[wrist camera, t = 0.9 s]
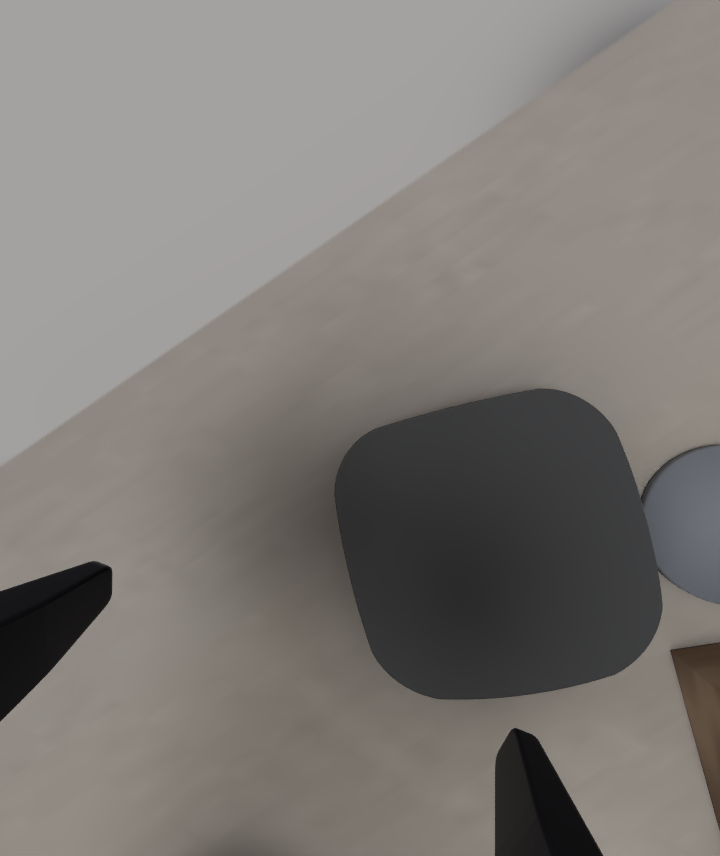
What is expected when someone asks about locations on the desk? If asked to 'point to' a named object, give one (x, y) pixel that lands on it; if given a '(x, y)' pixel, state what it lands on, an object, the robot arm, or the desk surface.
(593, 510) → the media streaming box
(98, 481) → the desk surface
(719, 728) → the planter holder
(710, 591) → the mat
